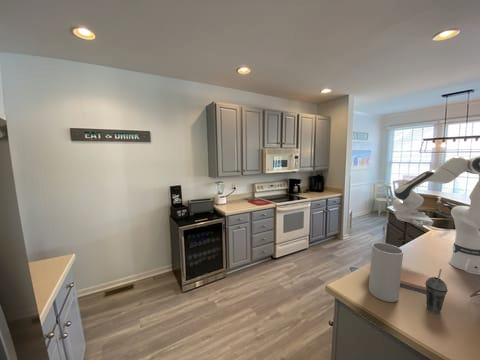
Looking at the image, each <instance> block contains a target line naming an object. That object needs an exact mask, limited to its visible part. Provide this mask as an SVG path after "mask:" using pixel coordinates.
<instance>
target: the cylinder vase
mask: <svg viewBox="0 0 480 360" xmlns="http://www.w3.org/2000/svg"><path fill="white" fill-rule="evenodd" d="M370 256H371V257H370V268H369V281H368V291H369V293H370V294H371V295H372V296H373V297H375V298H376V299H379V300H381V301H384V302H387V303H396V302H397V301H398V300H399V297H400V279H401V269H402V268H403V260H404V258H403V257H404V250H403V249H402V248H400V247H398V246H395V245H394V244H393V245H392V244H391V243H390V244H389V243H384V242H373V243H372V244H371V255H370Z"/></svg>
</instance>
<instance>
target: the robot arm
mask: <svg viewBox="0 0 480 360" xmlns="http://www.w3.org/2000/svg"><path fill="white" fill-rule="evenodd" d="M464 173H468V174H472V175H477V176H478V181H477V183H476V184H475V185H474V187H473V188H472V191H471V192H470V194H469V197H468V198H469V200H470V204H469V206H468V205H456V206H453V207H452V209H451V210H450V215H451V217H452V218H453V221H454V227H455V237H454V242H453V245H452V254H451V257H450V259H449V260H448V264H449V265H451V266H452V267H454V268H457V269H459V270H461V271H463V272H466V273H467V274H471V275H477V276H480V155H479V156H475V157H472V158H469V159H466V158H464V157H461V156H453V157H451V158H449V159H448V160H446V161H445V162H443V163H442V164H440V165H439V166H438V167H436V168H434V169H433V170H426V171H423V172H422V173H421V174H419V175H418V176H416V177H414V178H413V179H411V180H409V181H408V182H406V183H405V184H402V185H401V186H398V187H397V188H396V189H395V190H394V197H395V198H394V200H393V201H392V203H391V204H392V205H391V206H392V208H393V209H394V210H395V211H392V212H393V214H394V217H396V219H397V220H398V221H402V222H407V223H410V224H414V225H415V226H417V227H421V228H423V227H424V226H426V227H427V226H428V227H432V225H434V220H432V218H431V217H430V216H428V215H426V213H425V212H424V211H421V210H417V209H419V208H421V206H423V205H424V202H425V199H424V197H423V196H421V195H420V194H419V193H417V192H416V191H414V189H416V188H417V187H419V186H421V185H422V184H424V183H427V182H432V183H436V184H441V185H444V184H449V183H451V182H453V181H454V180H456V179H457V178H458V177H459V176H460V175H461V174H464Z"/></svg>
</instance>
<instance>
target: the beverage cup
mask: <svg viewBox="0 0 480 360" xmlns="http://www.w3.org/2000/svg"><path fill="white" fill-rule="evenodd" d="M441 273H442V268H439V271H438V276H437V277H435V276H432V277H429V278H428V279H427V281H426V283H425V284H426V294H425V295H426V296H425V297H426V298H425V299H426V300H425V301H426V302H425V303H426V309H427V310H428V311H430V312H431V313H433V314H436V315H437V314H438V315H439V314H441V311H442V308H443V306H444V301H445V298H446V295H447V294H448V286H447V284H446V282H445V281H443V279H441Z"/></svg>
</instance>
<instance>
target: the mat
mask: <svg viewBox="0 0 480 360" xmlns="http://www.w3.org/2000/svg"><path fill="white" fill-rule="evenodd" d="M400 287H402V288H404V289H408V290H412V291H415V292H418V293H423V294H425V295H426V291H425V290H421V289H418V288H414V287H411V286H407V285H403V284H400Z"/></svg>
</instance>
